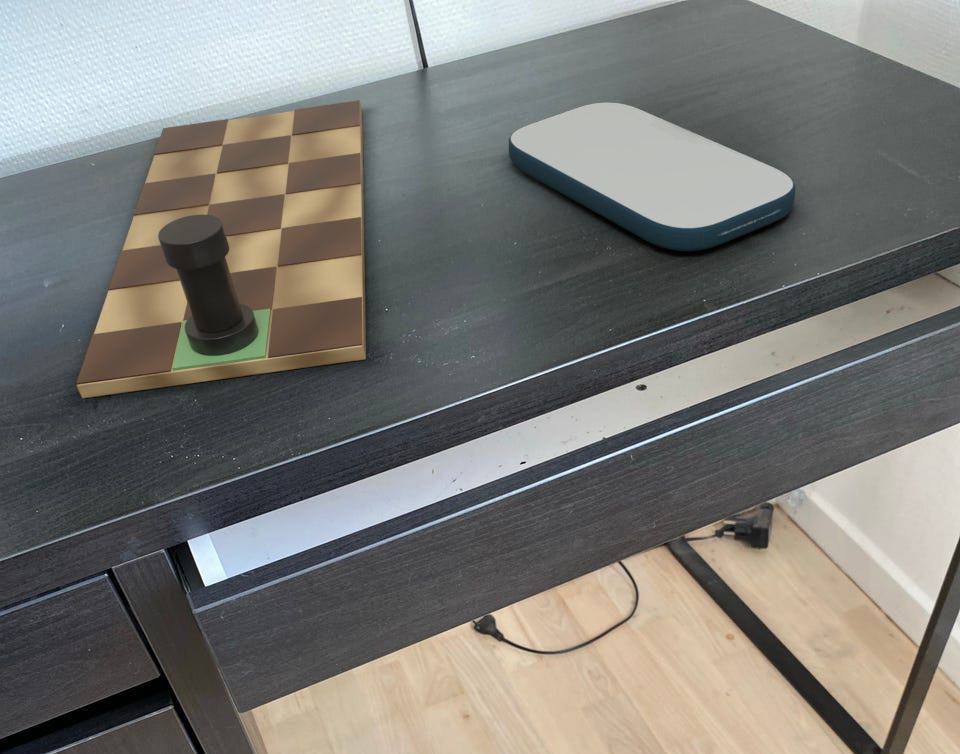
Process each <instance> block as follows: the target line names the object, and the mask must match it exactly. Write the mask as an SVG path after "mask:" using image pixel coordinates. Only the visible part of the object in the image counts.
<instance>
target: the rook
mask: <svg viewBox="0 0 960 754" xmlns="http://www.w3.org/2000/svg"><path fill="white" fill-rule="evenodd" d="M158 238H159V241H160V244H161V247H162V250H163V253H164V256H165V259H166V262H167V264H168V265H169V266H171V267H172V268H175V269H176V270H177V273H178V276H179V279H180V282H181V285H182V288H183V291H184V294H185V297H186V300H187V302H188V305H189V308H190V311H191V314H192V316H191V317H190V318H189V319H188V320H187V321H186V323H185V332H186V335H187V338H188V341H189V344H190V346H191V348H192V349H193V350H194V351H195V352H197V353H199V354H202V355H207V356H219V355H226V354H230V353H233V352H236V351H239V350H241V349H243V348H245V347H247V346H248V345H249V344H251V343H252V342H253V341H254V340H255V339H256V337H257V335H258V326H257V323H256V319H255V316H254V312H253V310H252V309H251V308H250V307H248V306H246V305H244V304H240V303H239V301H238V298H237V294H236V291H235V288H234V284H233V281H232V278H231V274H230V271H229V268H228V264H227V261H226V258H225V256H226V255H227V254H228V252H229V244H228V241H227V237H226V234H225V230H224V227H223V224H222V221H221V220H220V219H219V218H218V217H216V216H212V215H202V214H201V215H191V216H187V217H183V218H180V219H177V220H174V221H172V222H170V223H168V224H167V225H165V226H164V227H163V228H162V229H161V230H160V231H159V234H158Z"/></svg>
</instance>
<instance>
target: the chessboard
mask: <svg viewBox="0 0 960 754" xmlns="http://www.w3.org/2000/svg"><path fill="white" fill-rule="evenodd" d="M363 134H364V133H363V109H362V103H361V101H360V100H358V99H357V100H352V101H344V102H338V103H331V104H324V105H316V106H309V107H302V108H295V109H294V110H290V111H284V112H276V113H269V114H262V115H255V116H249V117H241V118H234V119H228V118H226V119H225V118H223V119H219V120H218V119H217V120H211V121H210V120H209V121H204V122H203V121H202V122H196V123H190V124H183V125H175V126H170V127H163V128H162V130H161V134H160V136H159V139H158V143H157V145H156V147H155V151H154V156H153V159H152V162H151V165H150V168H149V170H148V173H147V176H146V179H145V182H144V183H143V186H142V189H141V192H140V194H139V198H138V199H137V200H138V201H137V203H136V206H135V210H134V212H133V218H132V221H131V224H130V225H129V229H128V232H127V235H126V238H125V241H124V244H123V247H122V250H121V251H120V252H119V257H118V259H117V262H116V265H115V268H114V271H113V274H112V277H111V280H110V283H109V286H108V289H107V294H106V297H105V300H104V303H103V305H102V308H101V311H100V315H99V317H98V320H97V324H96V327H95V330H94V332H93V334H92V336H91V339H90V342H89V344H88V347H87V350H86V352H85V353H86V354H85V356H84V359H83V362H82V364H81V368H80V371H79V373H78V377H77V380H76V384H75V385H76V388H77V390H78V392H79V394H80V396H81V398H82V399H88V398H95V397H103V396H109V395H110V396H111V395H117V394H125V393H131V392H139V391H140V392H141V391H144V390H145V391H146V390H153V389H161V388H168V387H177V386H183V385H190V384H191V385H192V384H197V383H205V382H211V381H218V380H227V379H232V378H240V377H248V376H256V375H262V374H270V373H277V372H284V371H290V370H297V369H305V368H313V367H314V368H315V367H321V366H327V365H328V366H329V365H334V364H341V363H342V364H343V363H348V362H355V361H364V360H367V330H366V329H367V328H366V327H367V326H366V325H367V321H366V271H365V270H366V268H365V267H366V265H365V264H366V263H365V261H366V259H365V256H366V255H365V207H364V205H365V203H364V201H365V200H364V198H365V197H364V195H365V193H364V142H363V140H364V135H363ZM201 214H202V215H212V216H216V217H218V218H219V219H220V220H221V221H222V224H223V227H224V230H225V234H226V237H227V241H228V244H229V252H228V254H227V255H226V256H225V258H226V261H227V264H228V268H229V271H230V274H231V278H232V281H233V284H234V288H235V291H236V294H237V298H238V301H239V303H240V304H244V305H246V306H248V307H250V308H251V309H252V310H253V311H256V310H264V309H270V310H271V314H270V323H269V332H268V341H267V350H266V358H262V359H255V360H248V361H240V362H233V363H226V364H219V365H211V366H204V367H197V368H190V369H183V370H175V371H173V369H172V367H173V363H174V358H175V354H176V350H177V345H178V341H179V336H180V332H181V328H182V323H183V321H184V320H188V319H189V318H190V317H191V316H192V314H191V311H190V308H189V305H188V302H187V300H186V297H185V294H184V291H183V288H182V285H181V282H180V279H179V276H178V273H177V270H176V269H175V268H172V267H171V266H169V265H168V264H167V262H166V259H165V256H164V253H163V250H162V247H161V244H160V241H159V238H158V234H159V231H160V230H161V229H162V228H163V227H164V226H165V225H167V224H168V223H170V222H172V221H174V220H177V219H180V218H183V217H187V216H191V215H201Z"/></svg>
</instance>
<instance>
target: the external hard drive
mask: <svg viewBox="0 0 960 754" xmlns="http://www.w3.org/2000/svg"><path fill="white" fill-rule="evenodd" d="M508 155H509V156H508V157H509V159H510V161H511V163H512V165H514V166H515V167H516V168H517V169H518V170H519V171H521V172H523V173H525V174H526V175H527V176H530V177H531V178H532V179H533V178H534V179H535V180H537V181H539V182H541V184H544V185H546V186H547V187H549V188H551V189H553V190H555V191H557V192H559V193H560V194H562V195H563V196H566V197H567V198H569V199H571V200H572V201H574V202H576V203H578V204H579V205H582V206H583V207H585V208H587V209H588V210H591V211H592V212H594V213H596V214H598V216H599V215H600V216H601V217H603V218H605V219H606V220H608V221H610V222H612V223H614V224H616V225H617V226H619V227H621V228H622V229H624V230H626V231H627V232H630V233H631V234H633V235H635V236H637V237H639V238H640V239H642V240H643V241H646V242H647V243H650V244H652V245H654V246H657V247H659V248H663V249H665V250H670V251H676V252H697V251H703V250H708V249H713V248H715V247H717V246H720V245H723V244H726V243H728V242H730V241H732V240H735V239H737V238H740V237H742V236H745V235H748V234H749V233H752V232H754V231H756V230H760V229H761V228H764V227H766V226H769V225H772V224H774V223H776V222H777V221H780V220H782V219H783V218H785V217H787V216H788V215H789V214H790V212H791V211H792V209H793V207H794V204H795V198H796V185H795V182H794V180H793V179H792V177H791V176H790V175H789V174H787V173H786V172H784V171H782V170H780V169H779V168H777V167H775V166H772V165H770V164H769V163H765V162H763V161H762V160H759V159H757V158H755V157H752V156H749V155H747V154H745V153H742V152H741V151H738V150H736V149H734V148H732V147H728V146H727V145H724V144H722V143H720V142H717V141H715V140H713V139H710V138H708V137H706V136H703V135H701V134H699V133H696V132H694V131H693V130H692V131H691V130H690V129H687V128H685V127H682V126H680V125H678V124H675V123H673V122H671V121H669V120H666V119H664V118H662V117H660V116H657V115H655V114H653V113H650V112H648V111H646V110H643V109H641V108H639V107H636V106H633V105H629V104H626V103H621V102H611V101H605V102H604V101H603V102H602V101H601V102H593V103H589V104H584V105H580V106H577V107H575V108H571V109H569V110H566V111H563V112H561V113H557V114H555V115H551V116H549V117H545V118H543V119H541V120H537V121H534V122H532V123H529V124H527V125H524V126H521V127H519V128H517V129H516V130H514V131H512V133H511V135H510V136H509V138H508Z"/></svg>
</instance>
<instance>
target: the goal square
mask: <svg viewBox="0 0 960 754" xmlns="http://www.w3.org/2000/svg"><path fill="white" fill-rule="evenodd" d="M253 312H254V316H255V319H256V323H257V326H258V335H257V337H256V339H255V340H254V341H253V342H252V343H251V344H249V345H248V346H247V347H245V348H243V349H241V350H239V351H236V352H233V353H230V354H226V355H219V356H207V355H202V354H199V353H197V352H195V351H194V350H193V349H192V348H191V346H190V344H189V341H188V338H187V335H186V332H185V323H186V321H187V320H184V321H183V323H182V328H181V332H180V336H179V341H178V345H177V350H176V354H175V358H174V363H173V367H172V369H173V371H175V370H183V369H190V368H197V367H204V366H211V365H219V364H226V363H233V362H240V361H248V360H255V359H262V358H266V350H267V341H268V332H269V323H270V314H271V310H270V309H264V310H256V311H253Z"/></svg>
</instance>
